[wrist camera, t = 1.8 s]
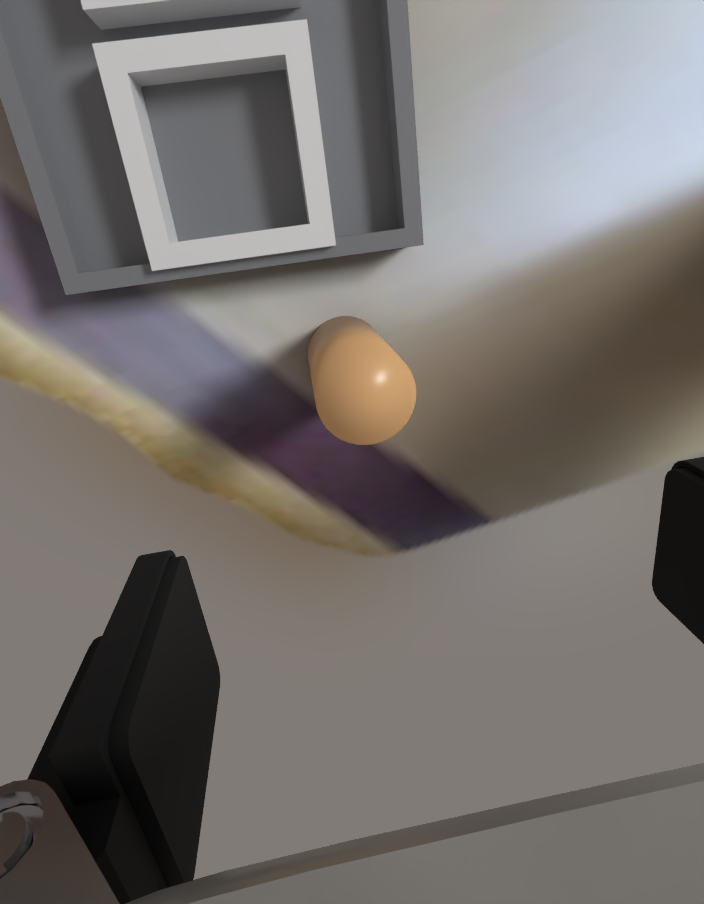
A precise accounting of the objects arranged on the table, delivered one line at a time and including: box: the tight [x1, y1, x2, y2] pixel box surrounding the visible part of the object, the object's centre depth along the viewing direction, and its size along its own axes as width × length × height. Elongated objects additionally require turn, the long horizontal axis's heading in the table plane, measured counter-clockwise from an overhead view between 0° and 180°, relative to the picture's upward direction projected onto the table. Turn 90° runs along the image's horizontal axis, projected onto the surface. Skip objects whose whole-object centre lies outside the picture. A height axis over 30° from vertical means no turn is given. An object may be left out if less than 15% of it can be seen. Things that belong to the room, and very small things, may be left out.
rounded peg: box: [308, 316, 416, 445], centre depth 24 cm, size 4×4×8 cm
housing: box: [0, 0, 423, 295], centre depth 21 cm, size 16×18×3 cm
